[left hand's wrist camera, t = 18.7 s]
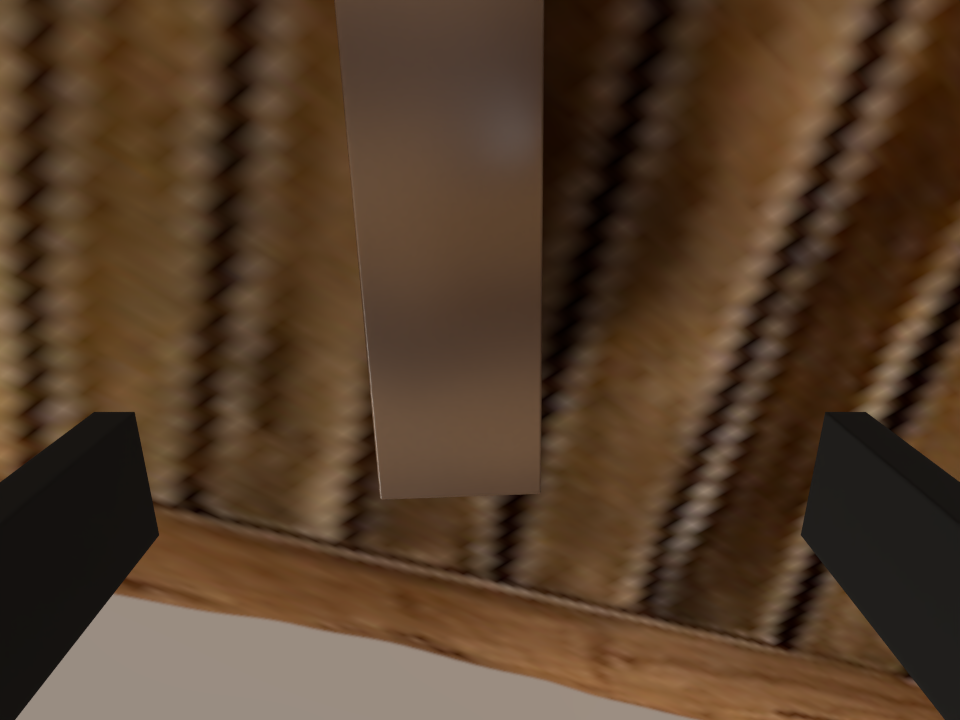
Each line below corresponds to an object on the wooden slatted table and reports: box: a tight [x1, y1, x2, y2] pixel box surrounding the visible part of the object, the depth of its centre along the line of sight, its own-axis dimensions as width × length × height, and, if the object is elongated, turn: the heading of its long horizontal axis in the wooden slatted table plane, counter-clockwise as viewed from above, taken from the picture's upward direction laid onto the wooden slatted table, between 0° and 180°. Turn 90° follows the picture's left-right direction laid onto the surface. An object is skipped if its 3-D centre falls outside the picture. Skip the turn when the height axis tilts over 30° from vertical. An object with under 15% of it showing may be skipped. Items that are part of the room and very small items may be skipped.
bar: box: [334, 0, 544, 499], centre depth 22 cm, size 27×6×9 cm, turn 2°
